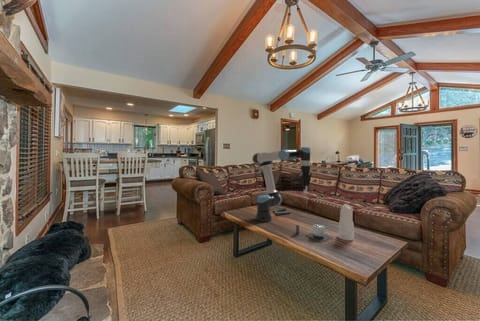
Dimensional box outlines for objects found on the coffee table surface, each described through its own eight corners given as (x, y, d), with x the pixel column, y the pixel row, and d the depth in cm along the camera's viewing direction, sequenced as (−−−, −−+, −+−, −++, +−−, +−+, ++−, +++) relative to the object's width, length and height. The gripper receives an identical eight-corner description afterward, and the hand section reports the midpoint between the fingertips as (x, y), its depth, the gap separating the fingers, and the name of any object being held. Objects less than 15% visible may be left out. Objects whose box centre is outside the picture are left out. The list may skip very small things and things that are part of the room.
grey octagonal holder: (311, 232, 167) (311, 224, 167) (322, 231, 167) (322, 224, 167) (315, 236, 159) (315, 228, 159) (326, 236, 159) (326, 228, 159)
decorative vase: (353, 241, 156) (354, 207, 155) (337, 238, 162) (337, 205, 160) (354, 236, 165) (355, 204, 164) (339, 233, 171) (339, 202, 169)
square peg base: (305, 236, 165) (305, 225, 165) (317, 232, 172) (317, 221, 172) (320, 243, 153) (320, 231, 153) (333, 239, 160) (333, 227, 160)
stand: (291, 234, 169) (292, 224, 169) (297, 233, 172) (297, 223, 172) (297, 237, 164) (297, 227, 164) (303, 235, 167) (303, 225, 167)
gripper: (303, 166, 176) (303, 194, 177) (314, 165, 182) (314, 193, 183) (296, 165, 182) (296, 193, 183) (307, 164, 189) (307, 191, 190)
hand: (305, 193), depth 183 cm, fingers closed
